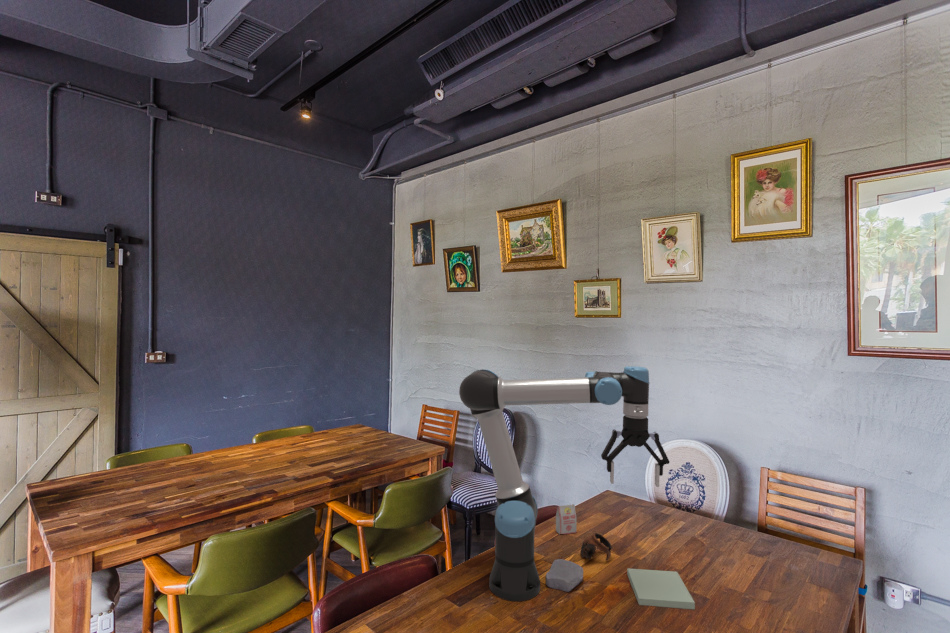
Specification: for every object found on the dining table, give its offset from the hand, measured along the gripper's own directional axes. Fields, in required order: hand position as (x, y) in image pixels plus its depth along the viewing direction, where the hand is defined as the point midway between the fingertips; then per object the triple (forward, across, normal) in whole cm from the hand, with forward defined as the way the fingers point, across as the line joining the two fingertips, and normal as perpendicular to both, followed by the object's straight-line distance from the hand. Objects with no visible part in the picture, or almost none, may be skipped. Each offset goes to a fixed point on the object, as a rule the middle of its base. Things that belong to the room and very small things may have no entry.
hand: (634, 484), depth 146 cm
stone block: (+29, -16, -8) cm, 34 cm away
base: (+29, +6, -7) cm, 30 cm away
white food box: (+29, -19, +28) cm, 45 cm away
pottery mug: (+30, -13, +9) cm, 34 cm away
